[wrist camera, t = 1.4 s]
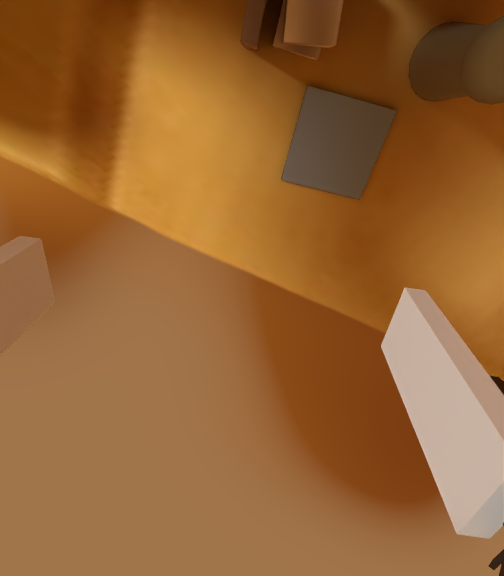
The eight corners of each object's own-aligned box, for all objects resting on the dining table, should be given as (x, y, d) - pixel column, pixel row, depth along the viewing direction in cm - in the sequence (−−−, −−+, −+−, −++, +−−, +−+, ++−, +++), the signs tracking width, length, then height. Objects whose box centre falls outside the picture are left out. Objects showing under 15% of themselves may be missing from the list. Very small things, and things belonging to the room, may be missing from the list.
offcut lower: (272, 46, 31) (273, 44, 28) (296, -57, 27) (300, -70, 25) (313, 60, 31) (318, 59, 29) (343, -40, 28) (351, -52, 25)
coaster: (281, 178, 37) (281, 180, 36) (307, 85, 32) (308, 85, 32) (358, 198, 38) (359, 199, 37) (395, 110, 33) (397, 110, 33)
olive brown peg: (437, 114, 33) (505, 131, 24) (394, 73, 31) (450, 74, 22) (492, 53, 30) (593, 45, 21) (448, 4, 29) (538, -28, 19)
